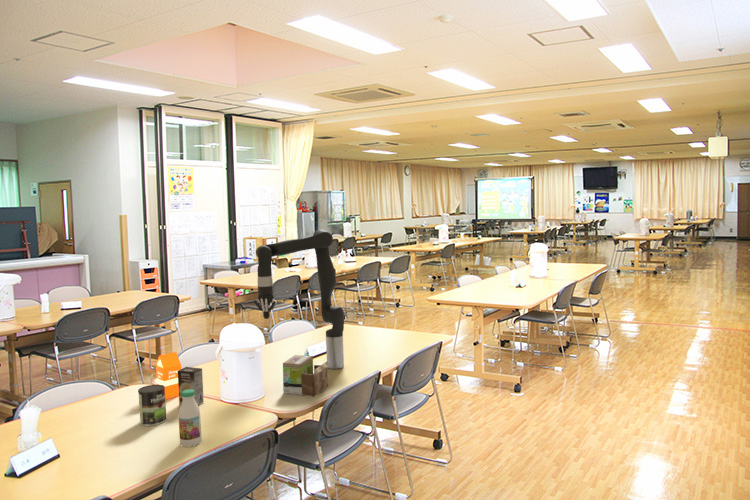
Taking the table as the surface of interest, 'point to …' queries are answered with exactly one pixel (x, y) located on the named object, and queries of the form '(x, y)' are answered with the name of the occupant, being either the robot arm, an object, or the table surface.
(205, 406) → the table surface
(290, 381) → the tea box
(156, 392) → the coffee can
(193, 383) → the coffee box
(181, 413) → the milk bottle
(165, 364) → the orange juice
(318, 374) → the display stand
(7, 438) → the table surface
